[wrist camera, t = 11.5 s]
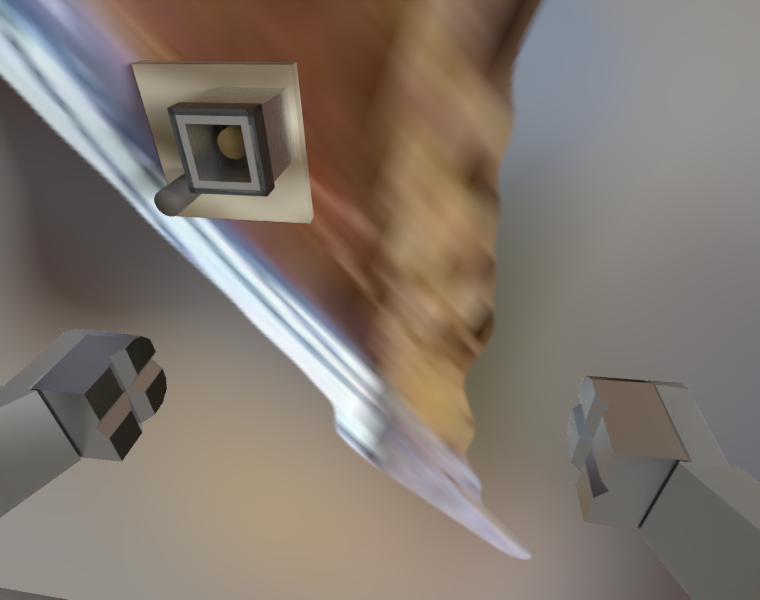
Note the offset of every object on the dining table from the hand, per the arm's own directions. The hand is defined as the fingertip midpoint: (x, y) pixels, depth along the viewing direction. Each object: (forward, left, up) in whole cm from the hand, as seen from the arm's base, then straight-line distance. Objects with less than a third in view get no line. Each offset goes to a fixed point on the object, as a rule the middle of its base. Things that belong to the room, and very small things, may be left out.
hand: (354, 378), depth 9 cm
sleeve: (+3, -13, -28) cm, 31 cm away
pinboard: (+5, -16, -29) cm, 34 cm away
